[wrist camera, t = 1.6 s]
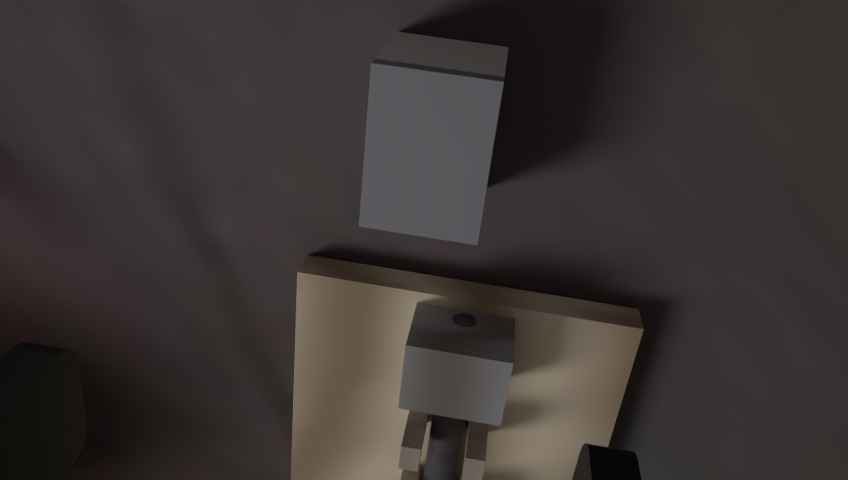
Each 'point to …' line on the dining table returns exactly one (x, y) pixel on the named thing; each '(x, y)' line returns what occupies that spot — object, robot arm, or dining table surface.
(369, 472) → the cable board
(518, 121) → the dining table surface
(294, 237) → the dining table surface
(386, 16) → the dining table surface
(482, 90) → the grey rectangular block
